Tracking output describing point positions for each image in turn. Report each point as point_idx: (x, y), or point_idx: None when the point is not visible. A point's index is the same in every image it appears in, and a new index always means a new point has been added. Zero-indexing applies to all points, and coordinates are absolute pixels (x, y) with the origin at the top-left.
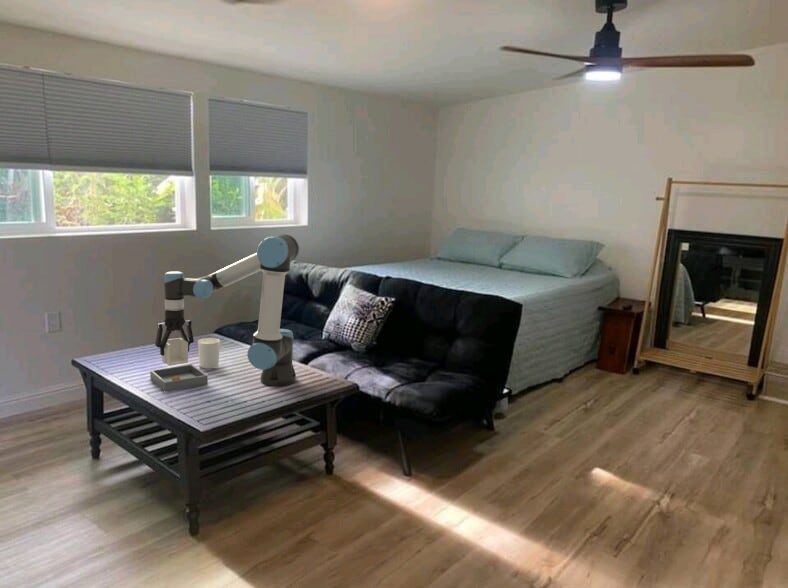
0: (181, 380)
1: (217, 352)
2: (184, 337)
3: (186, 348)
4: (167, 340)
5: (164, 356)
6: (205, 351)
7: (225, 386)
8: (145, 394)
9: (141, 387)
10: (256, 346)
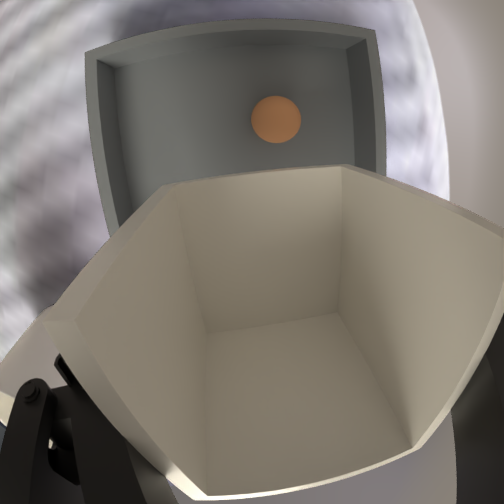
0: (271, 20)
1: (8, 352)
2: (131, 501)
3: (132, 246)
4: (369, 459)
5: None
6: (47, 371)
7: (54, 23)
8: (421, 74)
9: (417, 168)
10: None
